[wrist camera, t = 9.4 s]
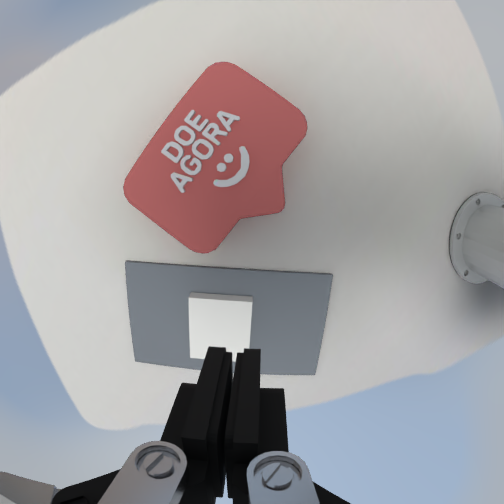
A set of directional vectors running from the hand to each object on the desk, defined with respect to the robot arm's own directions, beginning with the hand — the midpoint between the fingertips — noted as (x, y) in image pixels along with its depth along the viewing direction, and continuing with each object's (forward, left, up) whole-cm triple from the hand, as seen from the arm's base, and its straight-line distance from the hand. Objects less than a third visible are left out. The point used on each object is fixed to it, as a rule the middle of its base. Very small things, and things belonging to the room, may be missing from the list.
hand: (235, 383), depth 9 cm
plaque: (+3, -7, -26) cm, 27 cm away
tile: (-1, +11, -23) cm, 26 cm away
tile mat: (+2, +11, -25) cm, 27 cm away
